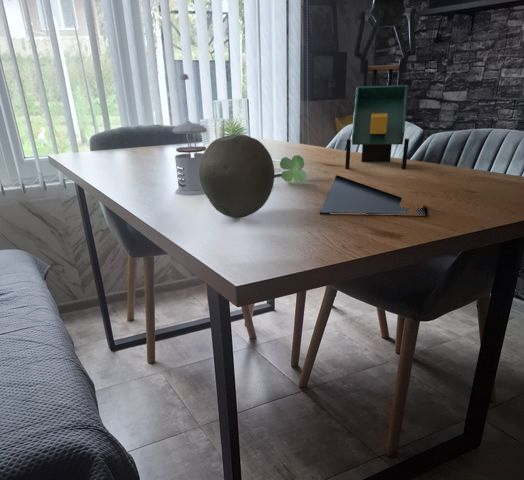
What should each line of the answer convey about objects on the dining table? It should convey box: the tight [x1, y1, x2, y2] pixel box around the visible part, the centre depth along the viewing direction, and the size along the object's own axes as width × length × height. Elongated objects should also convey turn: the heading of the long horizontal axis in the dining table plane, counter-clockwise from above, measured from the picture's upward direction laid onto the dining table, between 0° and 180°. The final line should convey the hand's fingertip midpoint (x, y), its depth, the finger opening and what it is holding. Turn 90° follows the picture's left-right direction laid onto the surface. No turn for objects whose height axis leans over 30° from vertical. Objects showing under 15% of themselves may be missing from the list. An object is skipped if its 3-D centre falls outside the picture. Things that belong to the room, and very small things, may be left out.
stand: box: [344, 137, 410, 170], centre depth 132 cm, size 14×16×9 cm
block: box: [370, 113, 388, 134], centre depth 123 cm, size 4×4×4 cm
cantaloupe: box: [199, 133, 275, 219], centre depth 90 cm, size 14×14×15 cm
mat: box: [319, 174, 427, 216], centre depth 110 cm, size 40×20×1 cm, turn 168°
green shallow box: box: [351, 64, 408, 146], centre depth 126 cm, size 22×13×5 cm
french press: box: [171, 73, 208, 196], centre depth 113 cm, size 10×12×25 cm
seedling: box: [279, 154, 308, 183], centre depth 127 cm, size 7×8×7 cm
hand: (381, 87), depth 128 cm, fingers closed on green shallow box, 8 cm apart
